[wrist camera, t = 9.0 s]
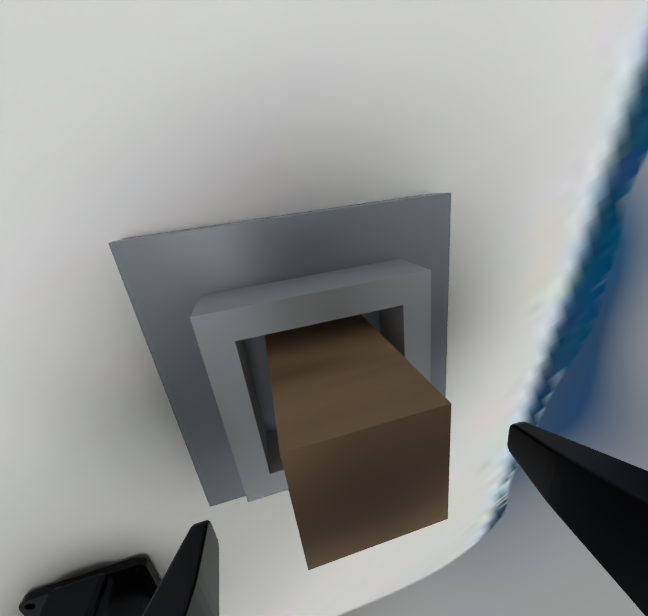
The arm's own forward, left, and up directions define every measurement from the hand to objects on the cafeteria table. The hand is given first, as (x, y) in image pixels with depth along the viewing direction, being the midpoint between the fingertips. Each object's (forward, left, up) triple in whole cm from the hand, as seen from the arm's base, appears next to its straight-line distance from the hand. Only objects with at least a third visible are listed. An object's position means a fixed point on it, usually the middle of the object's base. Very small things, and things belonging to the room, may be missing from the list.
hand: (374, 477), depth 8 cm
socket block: (0, 0, -8) cm, 8 cm away
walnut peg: (0, 0, -7) cm, 7 cm away
